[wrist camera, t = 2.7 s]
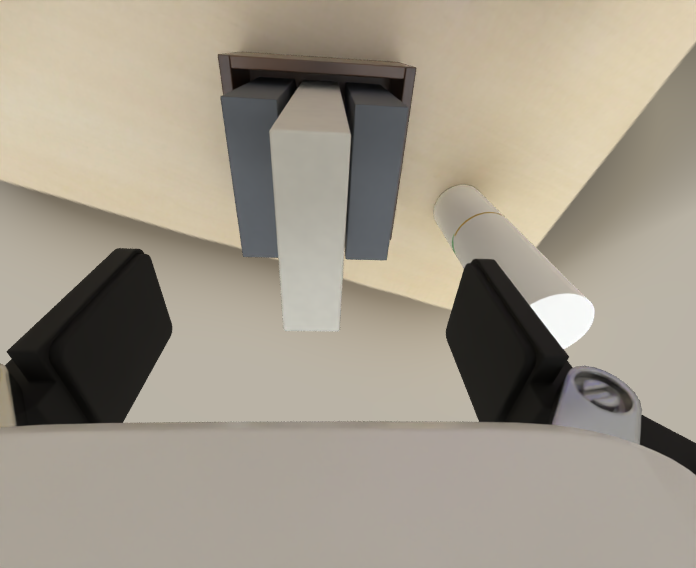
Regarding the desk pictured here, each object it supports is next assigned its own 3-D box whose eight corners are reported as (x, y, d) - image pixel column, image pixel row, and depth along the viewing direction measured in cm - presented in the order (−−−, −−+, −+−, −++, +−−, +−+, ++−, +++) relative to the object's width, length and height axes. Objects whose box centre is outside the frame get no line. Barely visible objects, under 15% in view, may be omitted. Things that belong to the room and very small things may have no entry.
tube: (444, 179, 28) (535, 287, 16) (491, 190, 29) (613, 300, 16) (426, 226, 30) (492, 351, 18) (470, 234, 31) (562, 360, 19)
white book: (304, 194, 27) (283, 331, 14) (302, 79, 23) (268, 129, 10) (334, 195, 28) (339, 332, 15) (338, 81, 23) (351, 133, 10)
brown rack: (256, 204, 28) (242, 235, 24) (240, 51, 22) (217, 54, 18) (381, 209, 29) (391, 240, 25) (399, 62, 23) (416, 67, 18)
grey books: (268, 192, 27) (242, 257, 19) (259, 76, 23) (219, 96, 14) (369, 196, 28) (386, 260, 20) (380, 84, 23) (408, 107, 15)
